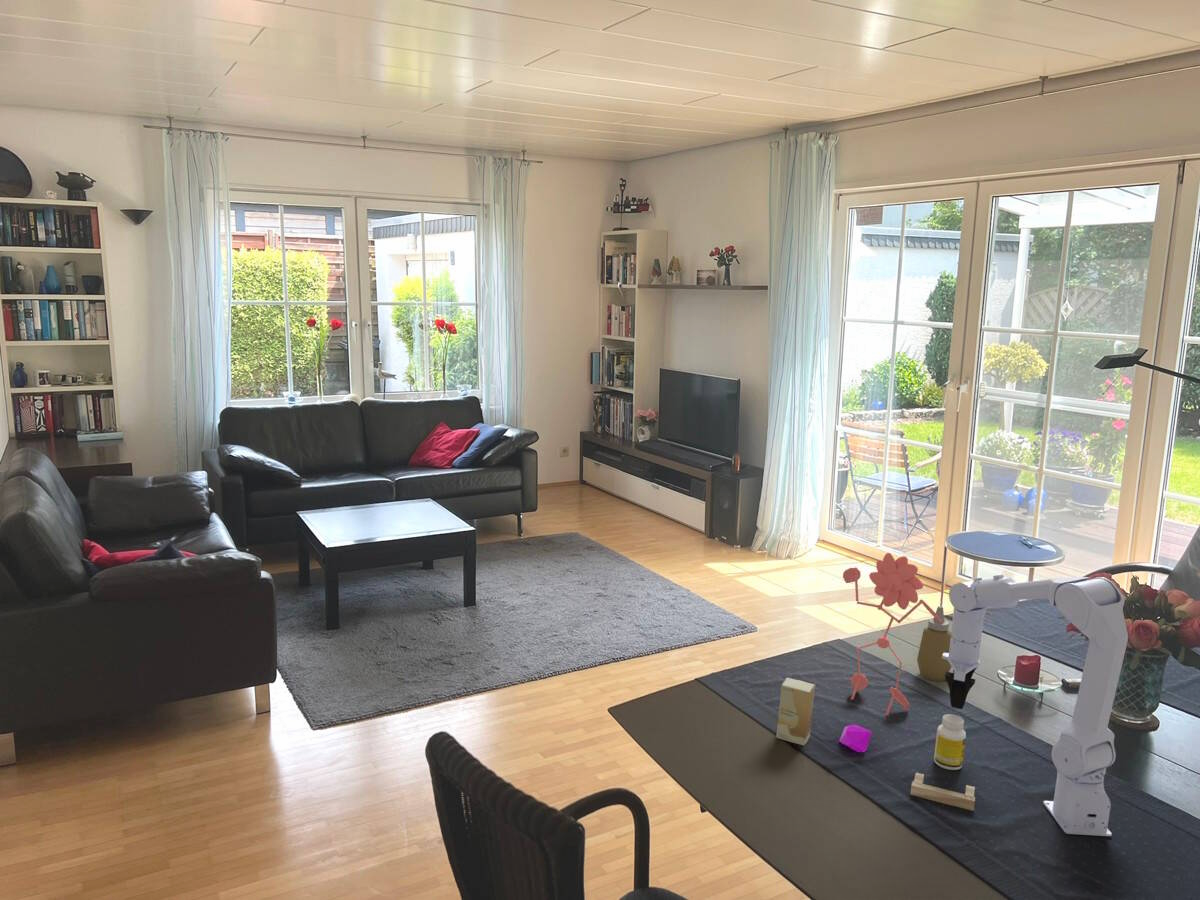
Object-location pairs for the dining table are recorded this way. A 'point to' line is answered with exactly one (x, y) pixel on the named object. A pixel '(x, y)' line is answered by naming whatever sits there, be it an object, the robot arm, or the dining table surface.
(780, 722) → the skincare box
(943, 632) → the squeeze bottle
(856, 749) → the crystal
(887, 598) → the figurine
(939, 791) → the u rest
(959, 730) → the supplement bottle
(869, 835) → the dining table surface
